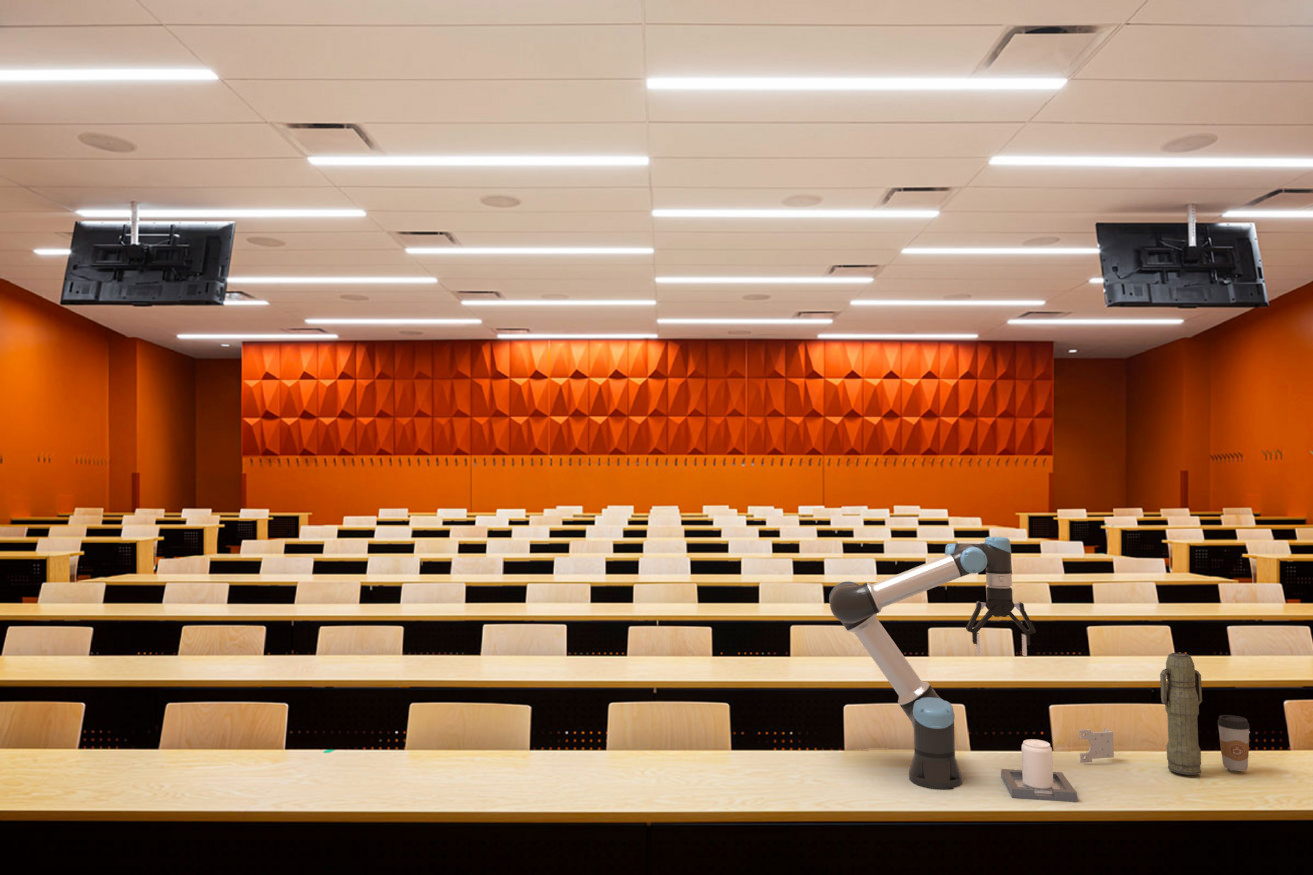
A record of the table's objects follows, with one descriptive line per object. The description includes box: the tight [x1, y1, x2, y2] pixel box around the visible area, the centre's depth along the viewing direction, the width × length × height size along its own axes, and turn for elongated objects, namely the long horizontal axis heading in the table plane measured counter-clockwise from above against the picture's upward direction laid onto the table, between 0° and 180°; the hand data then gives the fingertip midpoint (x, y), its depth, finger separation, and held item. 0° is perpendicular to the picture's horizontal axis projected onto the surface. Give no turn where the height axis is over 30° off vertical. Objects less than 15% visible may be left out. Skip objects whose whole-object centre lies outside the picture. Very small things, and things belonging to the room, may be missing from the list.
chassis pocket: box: [1000, 768, 1078, 803], centre depth 249 cm, size 17×17×2 cm
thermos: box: [1159, 652, 1203, 776], centre depth 264 cm, size 9×12×35 cm
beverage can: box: [1021, 738, 1054, 789], centre depth 249 cm, size 8×8×12 cm
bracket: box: [1078, 727, 1115, 763], centre depth 275 cm, size 11×4×10 cm, turn 98°
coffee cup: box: [1217, 714, 1251, 772], centre depth 265 cm, size 8×8×15 cm
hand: (1001, 655), depth 269 cm, fingers open, 13 cm apart
